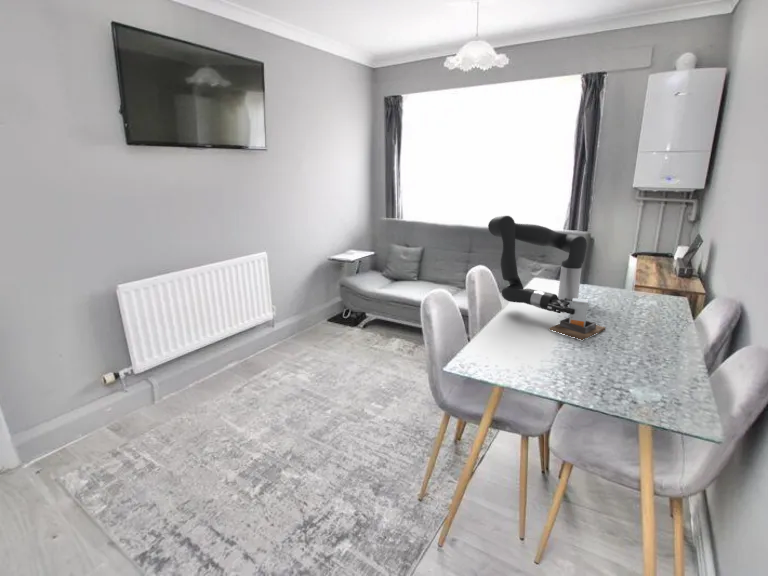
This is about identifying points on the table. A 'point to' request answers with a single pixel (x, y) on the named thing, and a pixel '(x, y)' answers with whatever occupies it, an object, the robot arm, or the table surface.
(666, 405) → the table surface
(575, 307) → the skincare box
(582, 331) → the holder
